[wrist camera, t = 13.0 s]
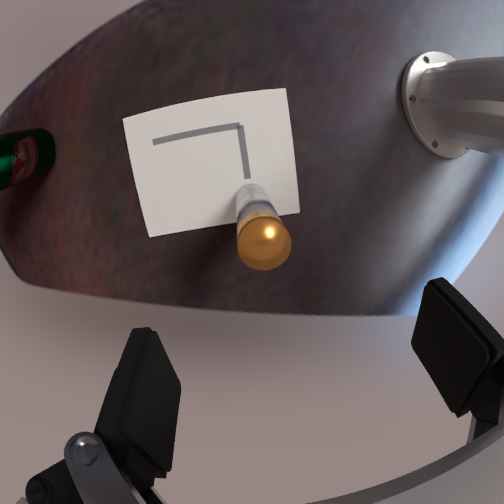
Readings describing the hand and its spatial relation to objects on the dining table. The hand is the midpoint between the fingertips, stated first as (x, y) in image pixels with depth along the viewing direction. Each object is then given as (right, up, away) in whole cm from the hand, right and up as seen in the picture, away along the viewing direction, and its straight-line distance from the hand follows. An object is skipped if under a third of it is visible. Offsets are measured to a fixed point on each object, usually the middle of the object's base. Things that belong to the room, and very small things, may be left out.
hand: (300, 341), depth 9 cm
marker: (-2, +8, +17) cm, 19 cm away
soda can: (-24, +14, +13) cm, 30 cm away
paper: (-5, +11, +16) cm, 20 cm away
